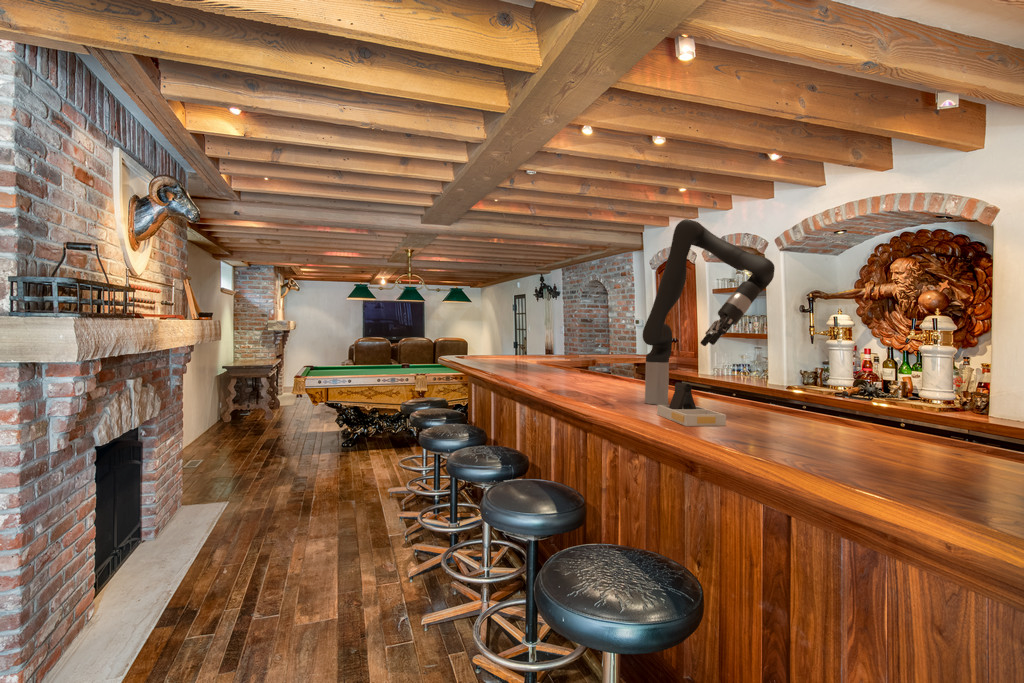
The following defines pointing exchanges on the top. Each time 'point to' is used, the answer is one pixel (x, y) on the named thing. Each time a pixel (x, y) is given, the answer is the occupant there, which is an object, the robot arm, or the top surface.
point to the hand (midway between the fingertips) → (706, 344)
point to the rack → (692, 416)
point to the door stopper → (682, 397)
